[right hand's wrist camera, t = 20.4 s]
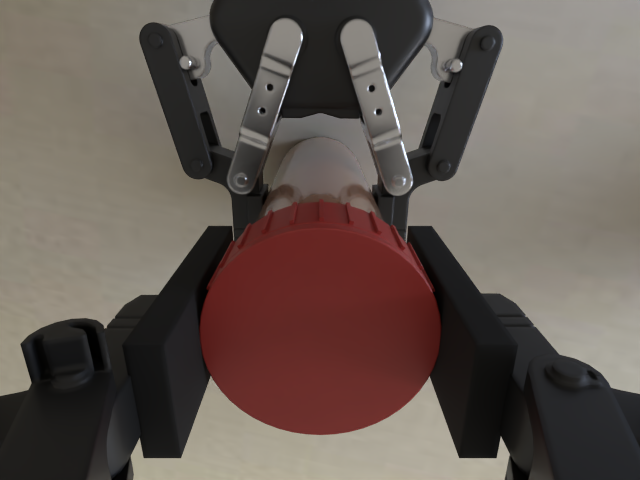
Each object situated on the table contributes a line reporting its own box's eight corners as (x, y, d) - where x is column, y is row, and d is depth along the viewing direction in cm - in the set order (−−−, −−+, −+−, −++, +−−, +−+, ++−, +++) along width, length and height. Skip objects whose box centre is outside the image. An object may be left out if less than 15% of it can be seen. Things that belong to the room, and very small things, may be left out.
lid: (402, 393, 13) (417, 448, 11) (211, 373, 13) (192, 426, 11) (446, 212, 11) (472, 242, 9) (220, 184, 11) (198, 209, 9)
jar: (277, 216, 27) (223, 400, 12) (279, 134, 25) (217, 227, 10) (357, 220, 27) (406, 408, 12) (365, 139, 25) (433, 238, 10)
